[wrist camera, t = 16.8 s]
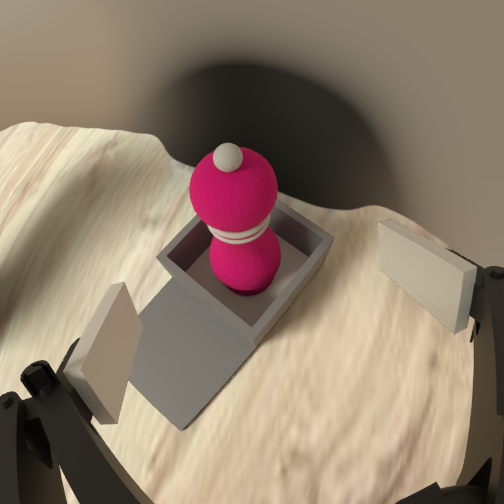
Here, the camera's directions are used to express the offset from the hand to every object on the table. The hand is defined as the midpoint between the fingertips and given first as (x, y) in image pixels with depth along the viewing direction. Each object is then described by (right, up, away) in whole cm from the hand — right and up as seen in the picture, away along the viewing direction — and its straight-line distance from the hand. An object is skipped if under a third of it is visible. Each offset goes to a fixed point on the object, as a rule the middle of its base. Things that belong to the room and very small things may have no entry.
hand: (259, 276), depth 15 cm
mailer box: (-5, -6, +19) cm, 21 cm away
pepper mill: (-1, -1, +21) cm, 21 cm away
